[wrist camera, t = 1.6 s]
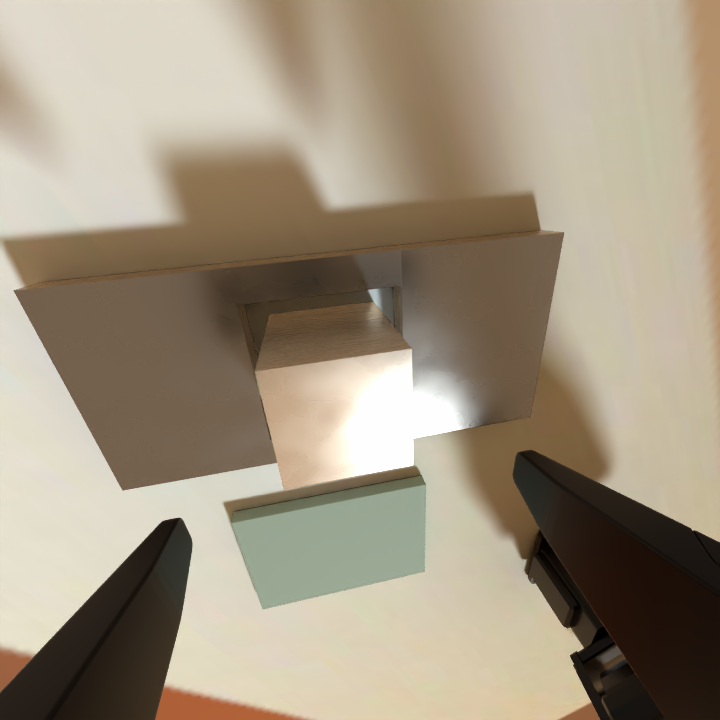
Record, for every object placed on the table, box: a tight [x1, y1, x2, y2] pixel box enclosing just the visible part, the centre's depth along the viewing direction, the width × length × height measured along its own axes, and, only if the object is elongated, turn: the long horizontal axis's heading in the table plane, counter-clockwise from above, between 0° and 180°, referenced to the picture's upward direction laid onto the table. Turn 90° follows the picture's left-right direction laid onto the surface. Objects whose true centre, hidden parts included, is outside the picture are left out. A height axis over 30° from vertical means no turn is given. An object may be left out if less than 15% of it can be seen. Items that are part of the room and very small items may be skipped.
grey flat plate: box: [14, 230, 564, 490], centre depth 16 cm, size 22×10×2 cm, turn 94°
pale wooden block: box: [255, 302, 413, 490], centre depth 14 cm, size 5×5×6 cm
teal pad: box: [231, 475, 426, 609], centre depth 22 cm, size 12×9×1 cm
